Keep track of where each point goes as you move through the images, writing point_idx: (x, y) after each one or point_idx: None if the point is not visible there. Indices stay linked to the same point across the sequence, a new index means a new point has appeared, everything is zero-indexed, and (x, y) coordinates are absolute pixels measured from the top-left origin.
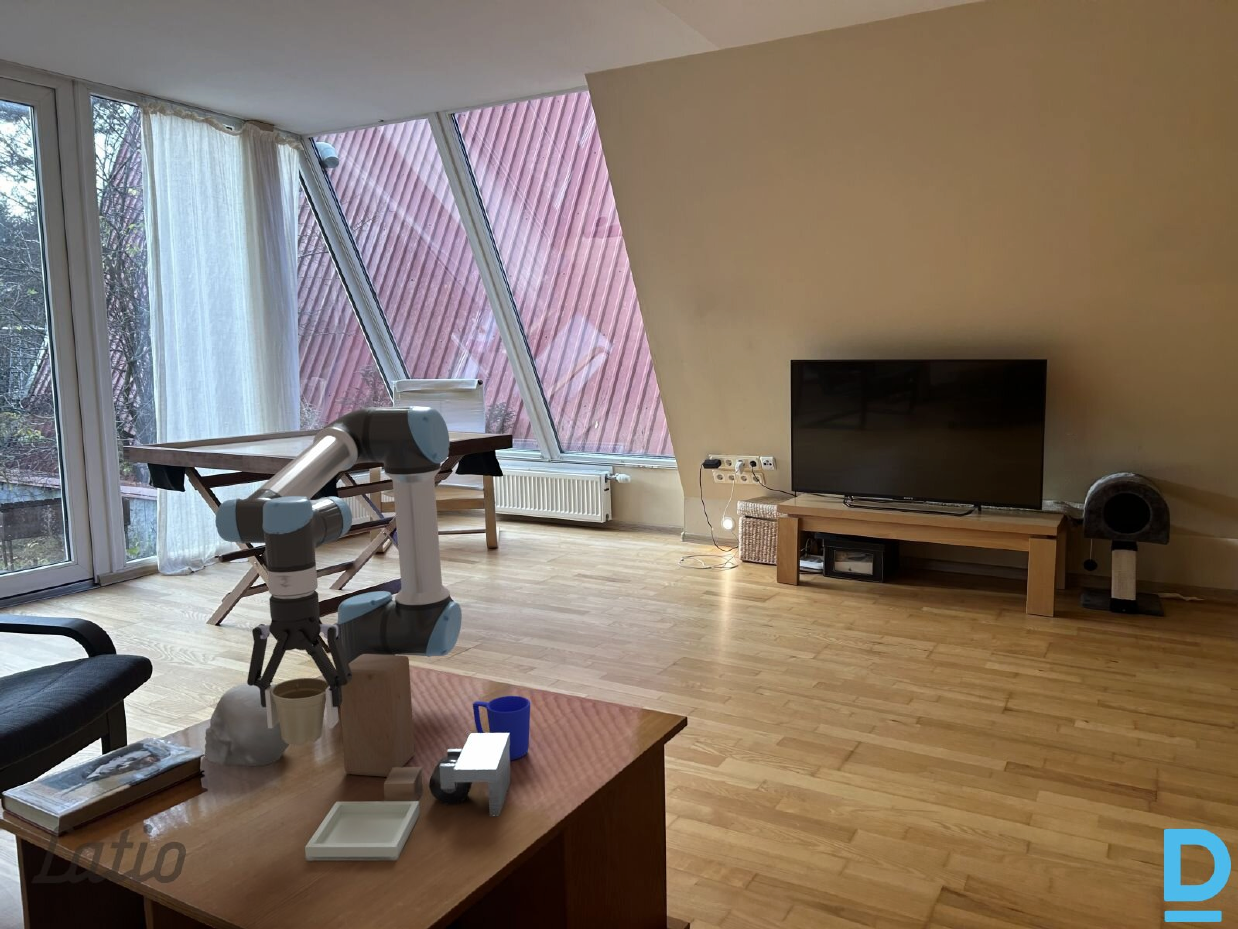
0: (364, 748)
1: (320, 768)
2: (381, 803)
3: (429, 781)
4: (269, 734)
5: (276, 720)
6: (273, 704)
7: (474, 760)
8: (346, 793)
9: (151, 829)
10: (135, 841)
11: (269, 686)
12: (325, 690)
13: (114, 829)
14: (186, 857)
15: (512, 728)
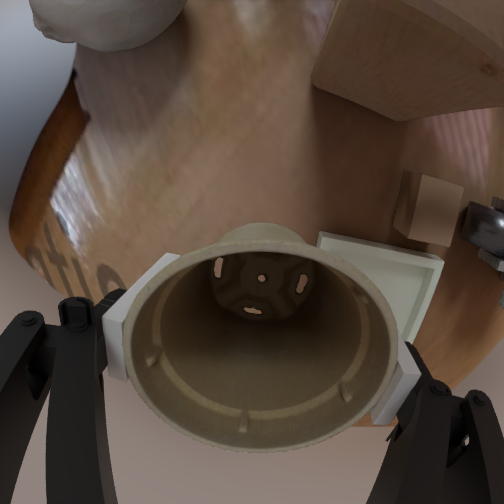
0: (366, 93)
1: (256, 50)
2: (395, 258)
3: (469, 242)
4: (142, 31)
5: None
6: None
7: None
8: (325, 157)
9: (66, 227)
10: (64, 254)
11: (104, 343)
12: (373, 423)
13: (34, 220)
14: None
15: None
